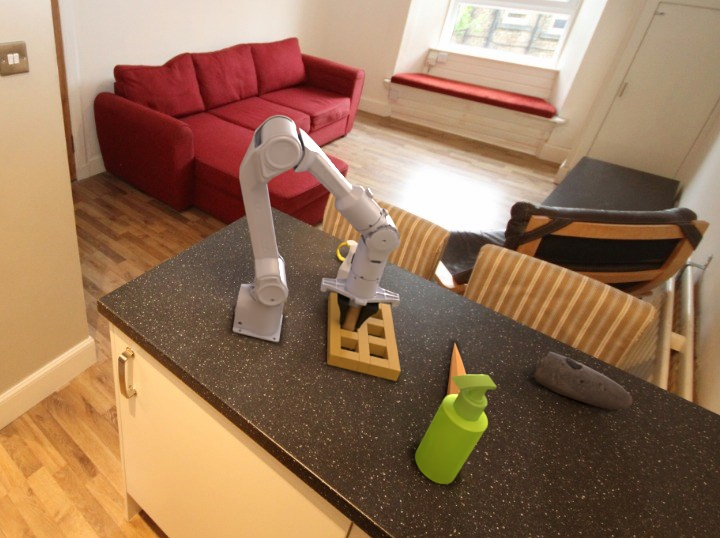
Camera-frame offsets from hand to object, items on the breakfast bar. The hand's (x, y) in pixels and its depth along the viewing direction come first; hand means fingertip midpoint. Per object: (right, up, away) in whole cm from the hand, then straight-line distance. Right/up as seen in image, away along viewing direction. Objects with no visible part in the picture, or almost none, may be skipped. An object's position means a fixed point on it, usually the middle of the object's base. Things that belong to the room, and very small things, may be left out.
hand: (349, 323), depth 91 cm
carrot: (+19, -9, -6) cm, 22 cm away
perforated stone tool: (+40, -12, -7) cm, 42 cm away
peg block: (+2, -3, +1) cm, 4 cm away
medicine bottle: (+5, +4, +14) cm, 15 cm away
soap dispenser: (+6, -16, -21) cm, 27 cm away
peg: (0, -2, +1) cm, 3 cm away
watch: (+7, +9, +24) cm, 26 cm away
